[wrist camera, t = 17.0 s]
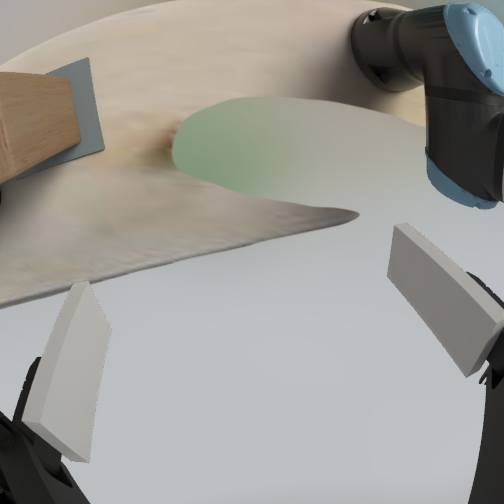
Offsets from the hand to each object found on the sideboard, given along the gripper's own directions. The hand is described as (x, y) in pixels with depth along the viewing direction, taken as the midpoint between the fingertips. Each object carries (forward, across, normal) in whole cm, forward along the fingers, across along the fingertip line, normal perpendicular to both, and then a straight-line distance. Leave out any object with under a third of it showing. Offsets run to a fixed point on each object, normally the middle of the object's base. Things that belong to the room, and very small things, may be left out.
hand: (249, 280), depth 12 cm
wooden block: (+32, -23, +9) cm, 41 cm away
